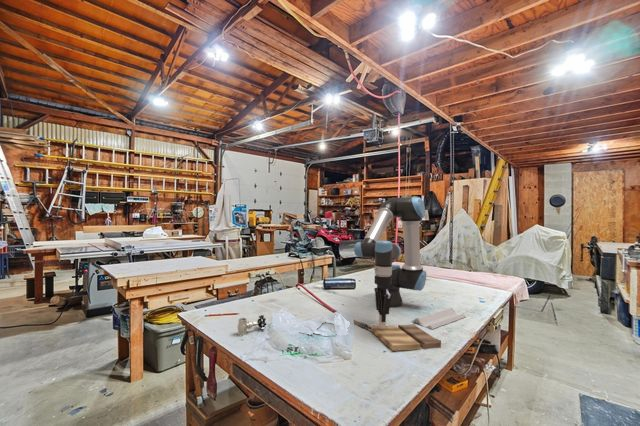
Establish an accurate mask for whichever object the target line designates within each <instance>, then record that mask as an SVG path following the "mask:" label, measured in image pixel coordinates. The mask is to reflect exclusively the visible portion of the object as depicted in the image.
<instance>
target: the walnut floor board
mask: <svg viewBox="0 0 640 426" xmlns="http://www.w3.org/2000/svg"><path fill="white" fill-rule="evenodd" d="M397 327H398V328H399V329H401V330H402V331H403V332H405V333H406V334H407V335H409V336H410V337H411V338H413V339H414V340H416V341H417V342H418V343H420V348H421V349H423V350H426V349H435V348H442V342H441V341H440V340H438V339H437V338H436V337H434V336H433V335H430V334H429V333H428V332H426V331H424V330H423V329H421V328H420V327H418V326H417V325H415V324H414V323H412V324H398V325H397Z"/></svg>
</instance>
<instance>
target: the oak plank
mask: <svg viewBox="0 0 640 426" xmlns="http://www.w3.org/2000/svg"><path fill="white" fill-rule="evenodd" d="M371 332H372V333H373V334H374V335H375V336H376V337H377V338H378V339H380V341H382V342H383V344H385V345H386V346H387V347H388V348H389V349H390V350H391V351H395V352H396V351H410V350H421V347H420V343H418V342H417V341H416V340H414V339H413V338H411V337H410V336H409V335H407V334H406V333H405V332H403V331H402V330H401V329H399V328H398V325H397V326H396V325H386V329H379V325H375V326H374V325H373V326H371Z"/></svg>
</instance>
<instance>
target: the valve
mask: <svg viewBox="0 0 640 426" xmlns="http://www.w3.org/2000/svg"><path fill="white" fill-rule="evenodd" d="M247 319H248V318H246V317H241V318H239V319H238V323H237V336H239V335H241V336H240V337H243V336H242V335H244V336H247V331H248V330H251V329H252V327H257V326H258V328H260V329H261V328H262V327H265V328H266V326H267V322H266V321H267V320H266V317H265V316H264V314H261V315H259V316H258V319H257V321H253V322H251V321H248V320H247Z"/></svg>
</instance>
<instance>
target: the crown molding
mask: <svg viewBox="0 0 640 426" xmlns="http://www.w3.org/2000/svg"><path fill="white" fill-rule="evenodd" d="M464 318H467V316H466V314H465V313H460V314H458V313H456V311H455V309H454V308H453V307H448V308H445V309H440V310H438V311H434V312H432V313H431V312H430V313H428V314H425V315H422V316H421V315H420V316H418V317H415V318H414V319H412V321H411V323H412V324H414V323H415V324H418V325H419V326H421V327H424V328H426V329H430V330H434V329H437V328H440V327H442V326H445V325H447V324H450V323H453V322H456V321H459V320H461V319H464Z"/></svg>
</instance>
